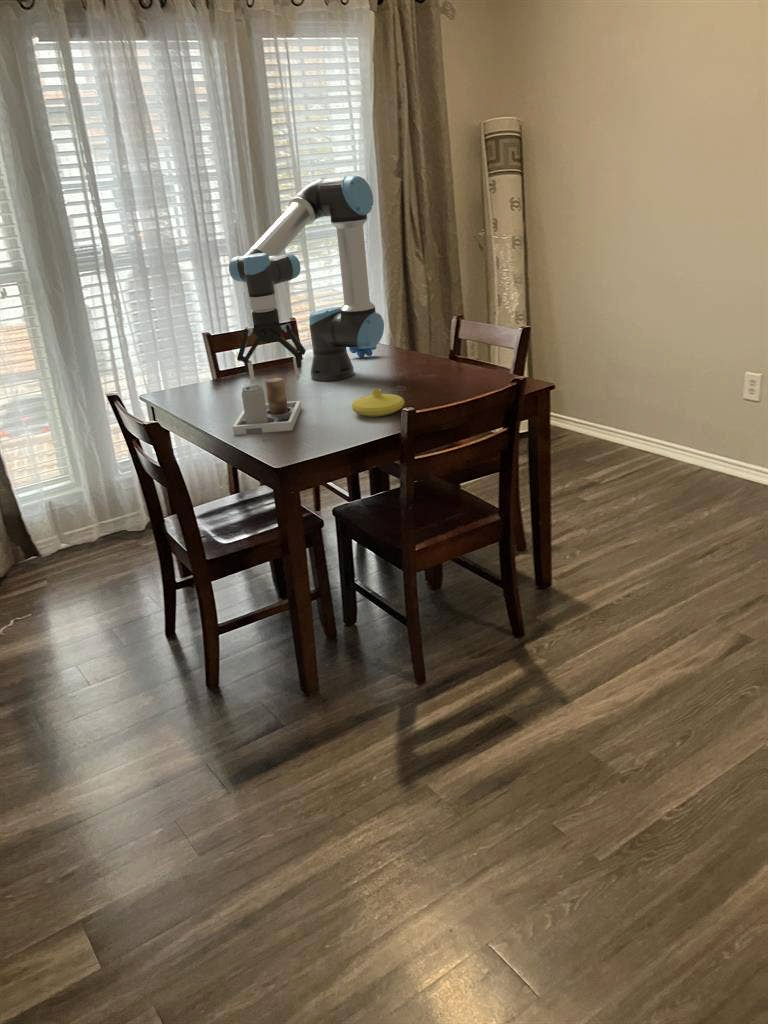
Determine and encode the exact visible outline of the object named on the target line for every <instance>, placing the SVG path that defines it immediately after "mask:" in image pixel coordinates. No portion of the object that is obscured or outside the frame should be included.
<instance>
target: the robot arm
mask: <svg viewBox="0 0 768 1024" xmlns="http://www.w3.org/2000/svg"><path fill="white" fill-rule="evenodd" d="M373 194H374V193H373V191H372V188H371V186H370V184H369V183H368V182H367V180H366V179H365V178H363V177H362V176H359V175H343V176H333V177H332V176H331V177H321V178H318V179H315V180H313V181H311V182H310V183H307V185H305V186H304V187H303V188H301V190H299V191H298V192H297V193H296V194H295V195H294V196H293V197H292V198H291V199H290V201H289V203H288V208H287V209H286V210H285V211H284V212H283V213H282V214H281V215H280V216H279V217H278V218H277V219H276V220H275V222H274V223H273V224H272V225H271V226H270V227H269V228H268V229H267V230H266V231H265V232H264V233H263V234H262V236H260V238H259V239H258V240H257V241H256V242H255V243H254V244H253V245H252V246H251V247H250V249H249V250H248V251H246V252H245V254H243V255H238V256H234V257H232V258H231V260H230V261H229V263H228V272H229V274H230V276H231V278H232V279H233V280H234V281H236V282H239V283H241V282H242V283H246V286H247V293H248V298H249V299H248V300H249V301H248V302H249V306H250V307H249V308H250V310H251V311H252V312H251V317H252V324H253V327H252V328H251V327H250V328H249V327H248V326H247V327H244V329H243V338H242V341H241V344H240V348H239V351H238V354H237V358H236V360H237V362H242V363H243V364H244V369H245V373H246V374H249V380H250V384H251V385H255V383H256V379H255V373H254V365H253V361H252V359H251V360H250V358H251V356H252V355H253V354H254V352H255V350H256V348H257V347H258V345H259V344H260V343H261V342H262V343H268V342H271V343H272V342H275V341H277V342H278V343H279V344H281V345H282V346H283V347H284V348H285V349H287V351H289V352H290V353H291V354H292V355H293V357H292V361H293V367H294V368H293V369H294V373H295V380H296V381H297V380H300V377H301V376H300V375H301V374H300V371H299V370H300V369H301V367H302V358H301V357H302V356H303V355H305V353H306V348H305V347H304V346H303V344H302V342H301V340H299V338H298V337H297V335H296V334H295V332H294V331H293V328H292V324H291V323H290V322H288V323H286V324H282V325H281V323H280V318H279V312H278V309H277V306H278V305H277V299H276V294H275V293H276V292H275V285H278V284H281V283H285V282H288V281H289V282H290V281H291V280H293V279H296V278H297V277H298V276H299V275H300V273H301V269H302V267H301V262H300V259H299V258H298V257H297V256H296V255H295V254H293V253H290V252H289V253H283V252H284V250H285V249H286V248H287V247H288V245H290V243H291V242H293V240H294V239H295V238H296V237H297V236H298V234H299V233H300V232H301V231H302V230H304V228H305V227H306V226H309V225H311V224H313V223H314V222H315V221H316V220H317V219H319V218H323V217H330V223H331V225H333V226H334V227H335V228H336V236H337V237H336V238H337V245H338V246H337V247H338V253H339V254H338V256H339V266H340V274H341V275H340V276H341V286H342V294H343V305H342V306H333V307H328V308H323V309H319V310H315V311H313V312H311V313H310V314H309V315H308V316H309V317H308V319H309V320H308V321H309V325H308V326H309V330H310V331H309V333H310V337H311V339H310V340H311V346H312V354H313V358H312V362H311V367H310V378H311V379H312V380H314V381H319V382H320V381H321V382H330V381H338V380H344V379H347V378H350V377H352V376H353V375H355V369H354V365H353V363H352V360H351V359H350V356H349V354H348V350H347V348H349V347H350V348H361V349H364V348H373V347H375V346H376V347H377V345H378V344H380V342H381V339H383V338H382V337H384V332H385V321H384V318H383V317H382V315H381V314H380V313H379V312H376V305H375V303H373V302H372V301H371V299H370V297H371V296H370V287H369V276H368V275H369V274H368V265H367V255H366V253H367V251H366V244H365V243H366V242H365V232H364V225H365V224H366V222H367V221H368V215H369V214H370V213H371V212H372V210H373V206H374V195H373ZM282 330H283V331H284V333H287V336H288V338H290V340H291V341H292V342H293V345H294V346H293V345H292V344H291V343H290V342H289V341H288V340H287V339H285V337H284V336H283V335H282V334H281V332H282ZM252 333H253V334H254V336H256V339H255V341H254V342H253V344H252V346H251V347H250V349H249V351H248V352H247V354H246V355H245V356H244V353H245V351H246V348H247V344H248V342H249V337H250V336H252ZM299 368H300V369H299Z"/></svg>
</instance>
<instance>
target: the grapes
mask: <svg viewBox="0 0 768 1024" xmlns="http://www.w3.org/2000/svg"><path fill="white" fill-rule="evenodd" d="M348 349H349V352H350V353H351V354H356V355H357V357H359V358H365V356H367V357H372V355H373V354H374V353H373V351H375V350H377V345H376V346H375V347H373V348H364V349H361V348H350V347H348Z"/></svg>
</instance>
